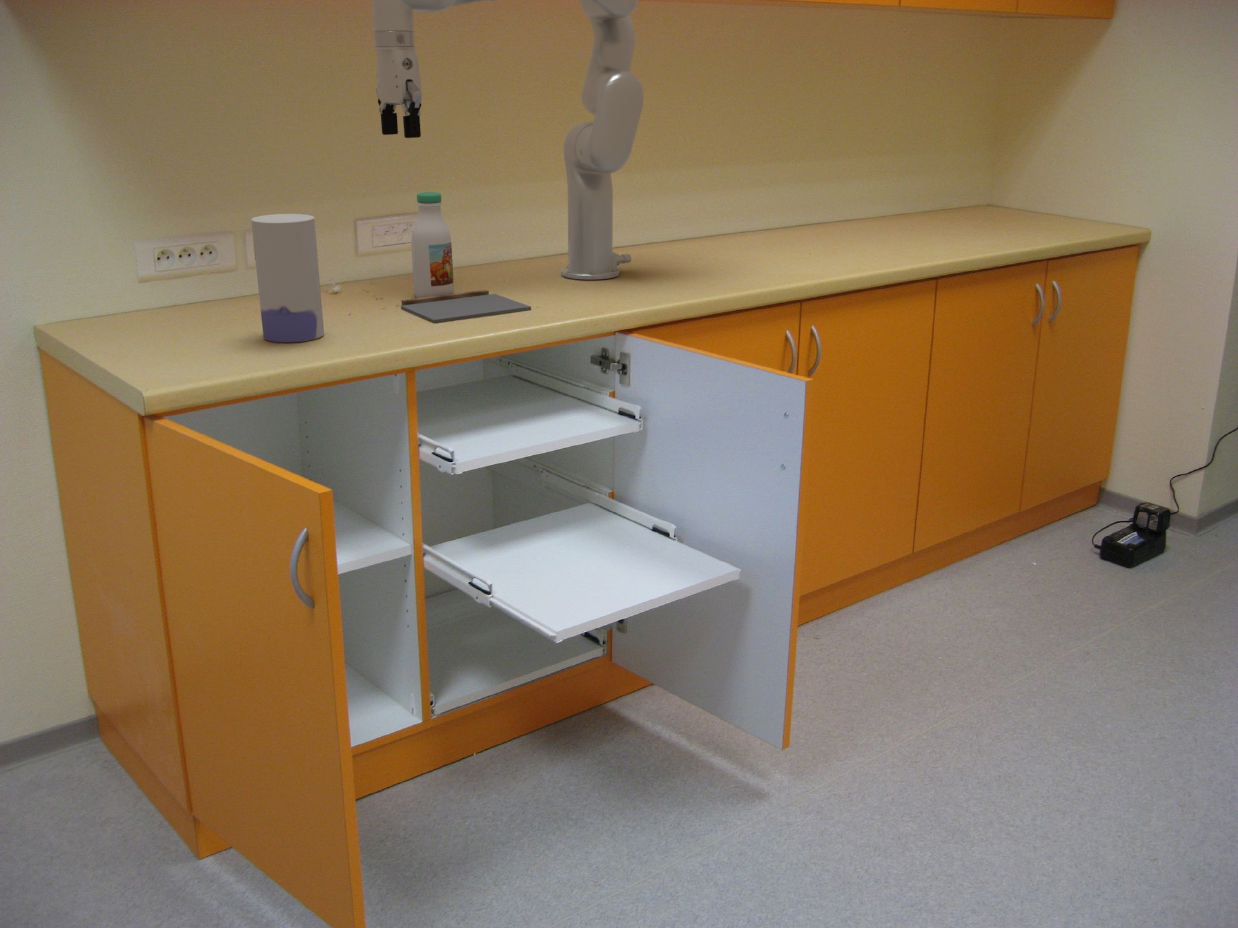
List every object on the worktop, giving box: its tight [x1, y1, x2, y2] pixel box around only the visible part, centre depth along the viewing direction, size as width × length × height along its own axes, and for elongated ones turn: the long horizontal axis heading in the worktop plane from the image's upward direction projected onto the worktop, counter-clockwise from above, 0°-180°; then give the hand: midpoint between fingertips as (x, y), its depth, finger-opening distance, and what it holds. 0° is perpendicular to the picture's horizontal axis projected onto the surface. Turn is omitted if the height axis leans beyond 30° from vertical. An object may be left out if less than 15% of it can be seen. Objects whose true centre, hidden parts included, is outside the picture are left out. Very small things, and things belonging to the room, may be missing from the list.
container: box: [250, 213, 325, 343], centre depth 192 cm, size 10×10×20 cm
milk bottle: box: [411, 191, 455, 298], centre depth 223 cm, size 8×8×20 cm
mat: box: [400, 293, 532, 324], centre depth 216 cm, size 20×14×1 cm
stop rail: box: [401, 289, 490, 306], centre depth 222 cm, size 18×1×1 cm, turn 124°
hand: (401, 136), depth 222 cm, fingers open, 9 cm apart
